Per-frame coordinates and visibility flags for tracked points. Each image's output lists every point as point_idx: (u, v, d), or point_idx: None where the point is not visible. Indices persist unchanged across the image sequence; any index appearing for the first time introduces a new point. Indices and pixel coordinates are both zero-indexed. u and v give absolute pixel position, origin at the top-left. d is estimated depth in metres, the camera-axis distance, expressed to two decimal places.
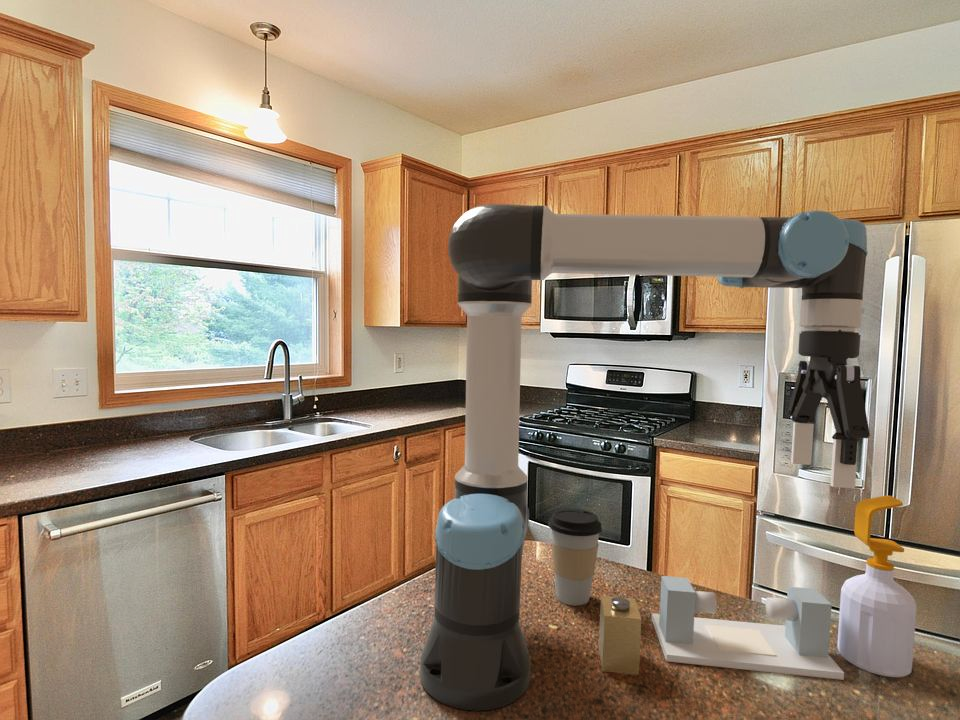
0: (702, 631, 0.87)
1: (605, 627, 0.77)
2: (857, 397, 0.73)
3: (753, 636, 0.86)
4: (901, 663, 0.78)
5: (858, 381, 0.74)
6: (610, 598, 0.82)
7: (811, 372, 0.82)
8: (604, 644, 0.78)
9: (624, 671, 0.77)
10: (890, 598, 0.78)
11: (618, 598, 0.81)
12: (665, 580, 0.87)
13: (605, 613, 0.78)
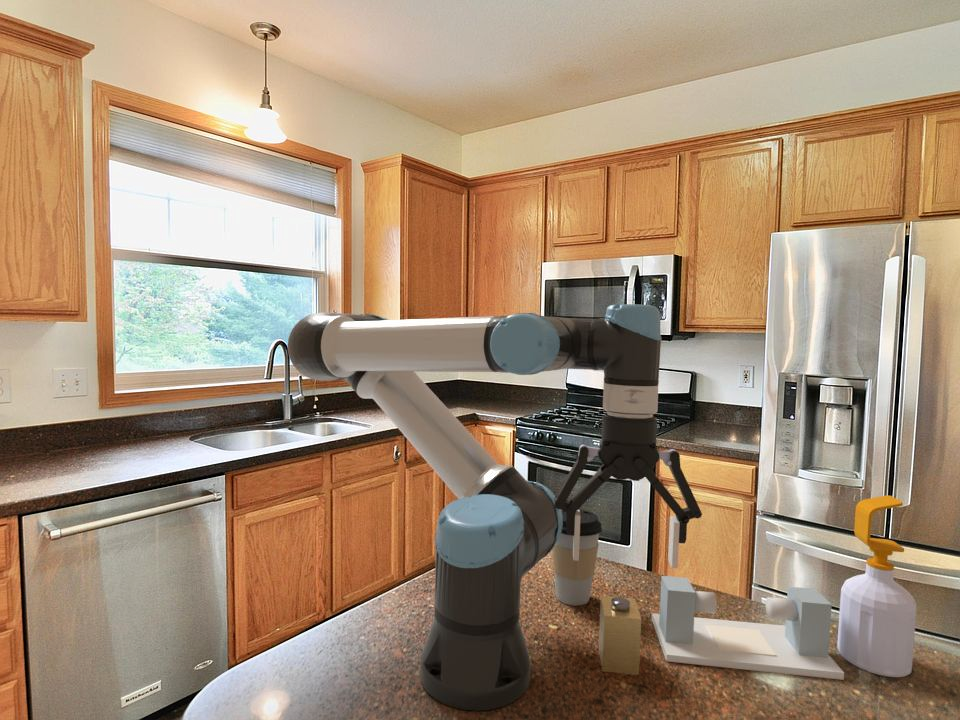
0: (702, 631, 0.87)
1: (605, 627, 0.77)
2: (570, 473, 0.79)
3: (753, 636, 0.86)
4: (901, 663, 0.78)
5: (578, 460, 0.79)
6: (610, 598, 0.82)
7: None
8: (604, 644, 0.78)
9: (624, 671, 0.77)
10: (890, 598, 0.78)
11: (618, 598, 0.81)
12: (665, 580, 0.87)
13: (605, 613, 0.78)
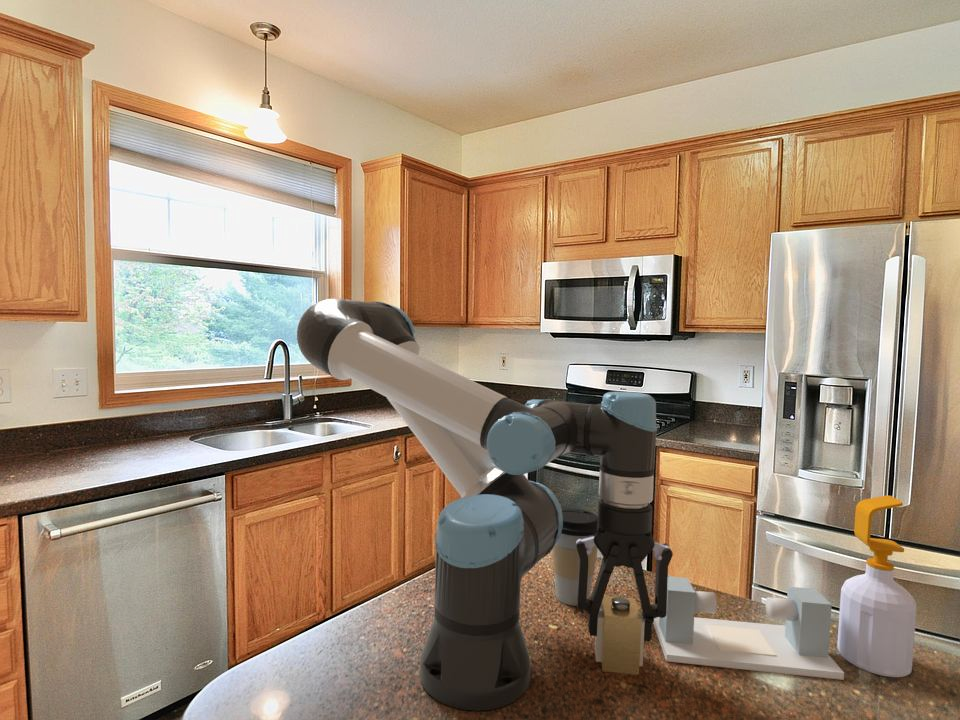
0: (702, 631, 0.87)
1: (605, 627, 0.77)
2: (579, 571, 0.80)
3: (753, 636, 0.86)
4: (901, 663, 0.78)
5: (579, 557, 0.79)
6: (610, 598, 0.82)
7: None
8: (604, 644, 0.77)
9: (624, 671, 0.77)
10: (890, 598, 0.78)
11: (618, 598, 0.81)
12: None
13: (605, 613, 0.78)
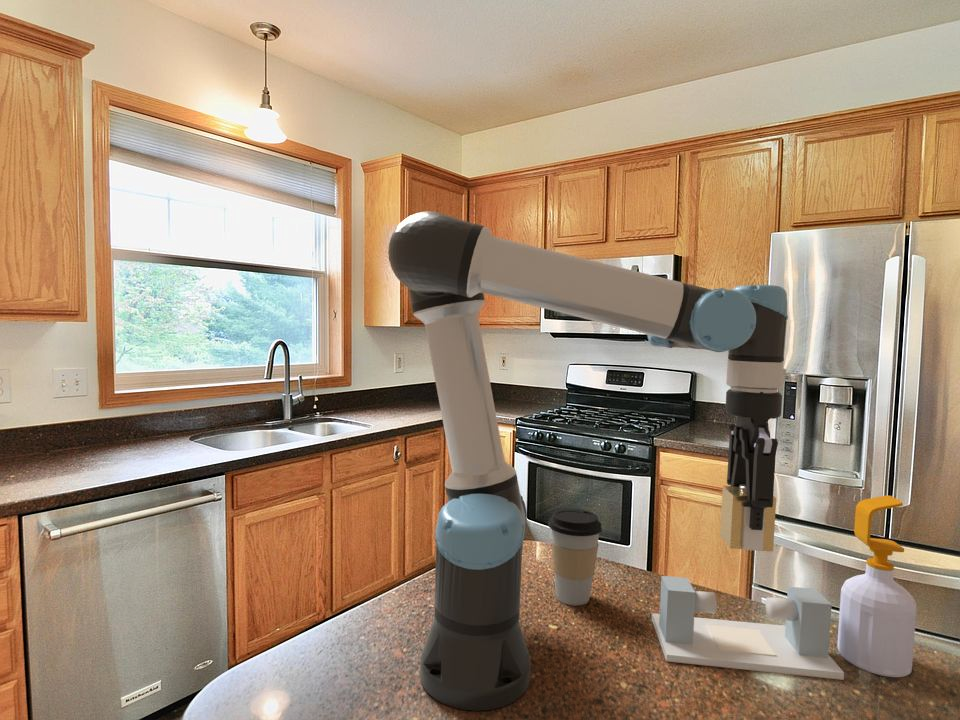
0: (702, 631, 0.87)
1: None
2: (769, 470, 0.77)
3: (753, 636, 0.86)
4: (901, 663, 0.78)
5: (773, 454, 0.77)
6: (734, 492, 0.83)
7: (737, 428, 0.84)
8: None
9: None
10: (890, 598, 0.78)
11: (743, 486, 0.83)
12: (665, 580, 0.87)
13: None
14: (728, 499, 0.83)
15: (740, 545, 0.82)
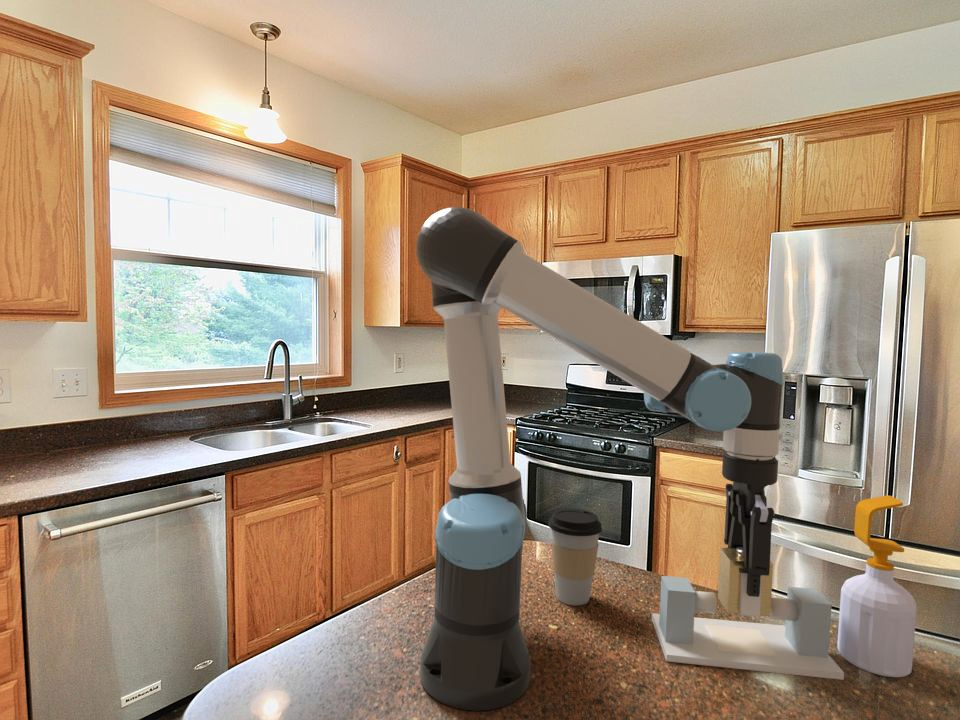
0: (702, 631, 0.87)
1: (771, 574, 0.81)
2: (765, 539, 0.78)
3: (753, 636, 0.86)
4: (901, 663, 0.78)
5: (770, 523, 0.78)
6: (732, 557, 0.83)
7: (734, 491, 0.85)
8: None
9: None
10: (890, 598, 0.78)
11: (740, 550, 0.84)
12: (665, 580, 0.87)
13: None
14: (726, 563, 0.84)
15: (737, 610, 0.82)
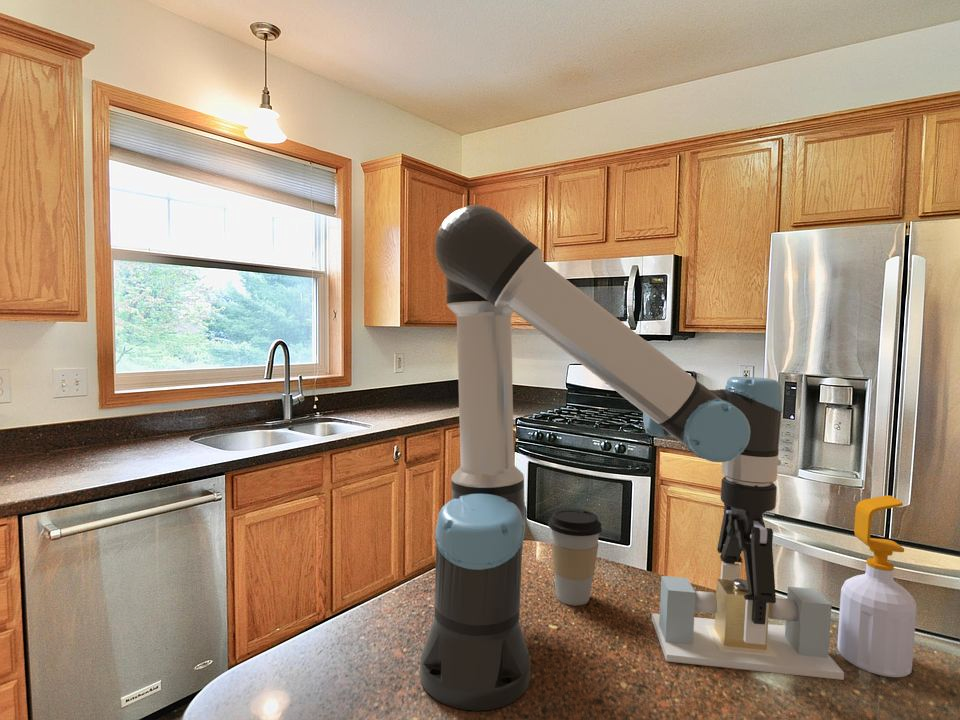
0: (702, 631, 0.87)
1: (768, 607, 0.82)
2: (768, 561, 0.76)
3: None
4: (901, 663, 0.78)
5: (770, 544, 0.77)
6: (728, 589, 0.84)
7: (732, 517, 0.85)
8: (767, 624, 0.82)
9: None
10: (890, 598, 0.78)
11: (737, 582, 0.84)
12: (665, 580, 0.87)
13: None
14: (722, 595, 0.84)
15: (734, 643, 0.83)
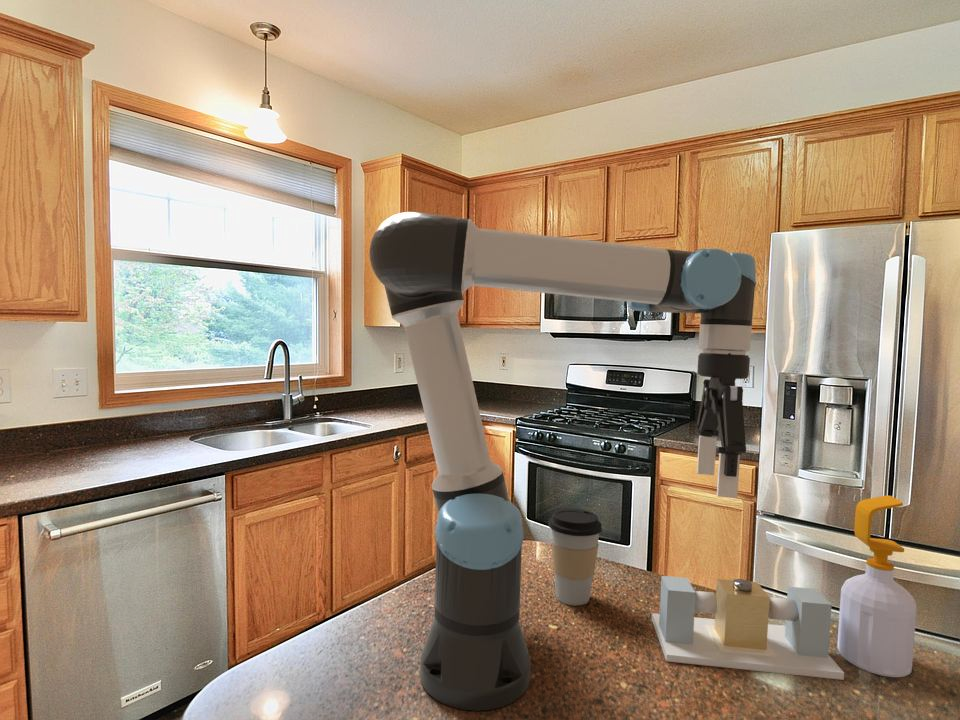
0: (702, 631, 0.87)
1: None
2: (738, 415, 0.80)
3: None
4: (901, 663, 0.78)
5: (740, 400, 0.81)
6: (728, 589, 0.84)
7: (708, 390, 0.89)
8: (767, 624, 0.82)
9: None
10: (890, 598, 0.78)
11: (737, 582, 0.84)
12: (665, 580, 0.87)
13: (764, 596, 0.82)
14: (722, 595, 0.84)
15: (734, 643, 0.83)
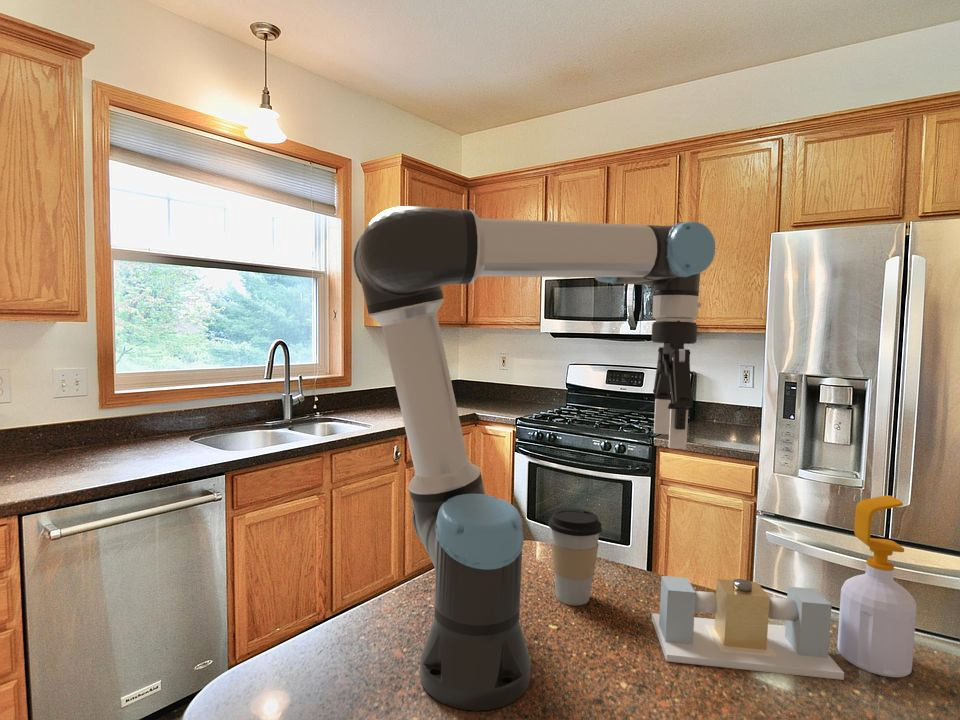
0: (702, 631, 0.87)
1: None
2: (686, 374, 0.90)
3: None
4: (901, 663, 0.78)
5: (688, 362, 0.91)
6: (728, 589, 0.84)
7: (661, 356, 0.99)
8: (767, 624, 0.82)
9: None
10: (890, 598, 0.78)
11: (737, 582, 0.84)
12: (665, 580, 0.87)
13: (764, 596, 0.82)
14: (722, 595, 0.84)
15: (734, 643, 0.83)
